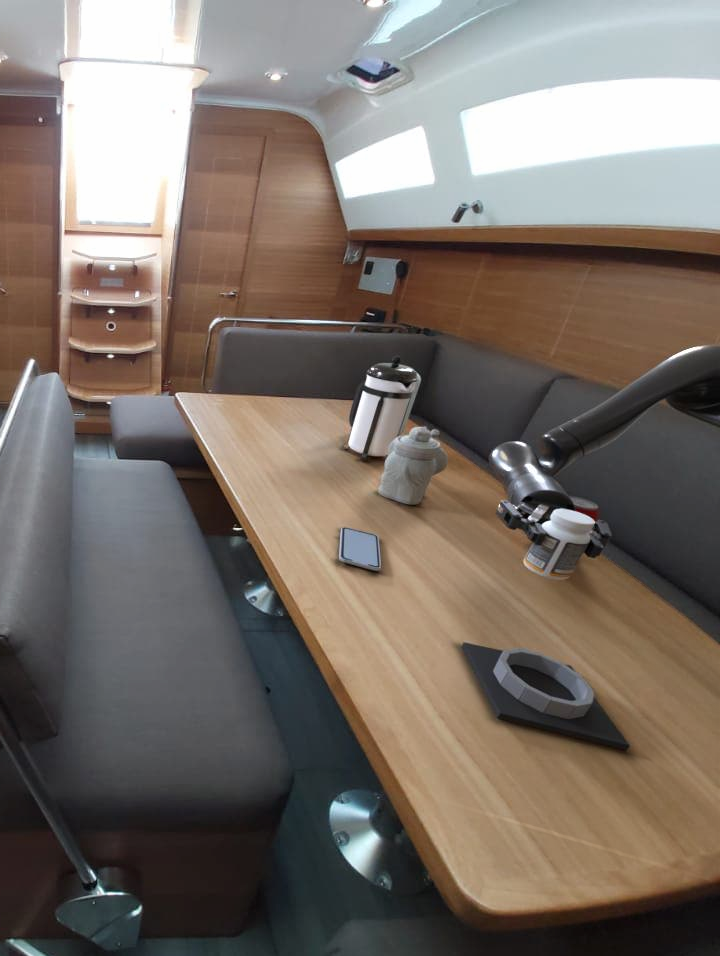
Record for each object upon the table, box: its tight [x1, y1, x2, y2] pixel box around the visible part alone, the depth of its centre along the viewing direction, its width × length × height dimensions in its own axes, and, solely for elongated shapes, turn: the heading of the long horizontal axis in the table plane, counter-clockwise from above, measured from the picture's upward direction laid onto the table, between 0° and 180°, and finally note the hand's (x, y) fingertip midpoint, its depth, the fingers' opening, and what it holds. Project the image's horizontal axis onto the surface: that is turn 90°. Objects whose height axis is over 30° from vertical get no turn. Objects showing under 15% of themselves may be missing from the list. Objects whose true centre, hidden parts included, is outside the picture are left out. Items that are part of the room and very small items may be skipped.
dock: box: [461, 641, 631, 751], centre depth 70 cm, size 14×14×4 cm
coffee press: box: [341, 355, 418, 462], centre depth 147 cm, size 17×16×30 cm
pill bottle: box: [523, 509, 595, 581], centre depth 76 cm, size 6×6×10 cm
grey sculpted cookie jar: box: [378, 426, 448, 506], centre depth 125 cm, size 16×15×19 cm
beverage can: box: [568, 495, 600, 522], centre depth 103 cm, size 7×7×12 cm
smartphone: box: [338, 526, 382, 572], centre depth 103 cm, size 7×1×15 cm
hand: (566, 546), depth 74 cm, fingers closed on pill bottle, 5 cm apart
